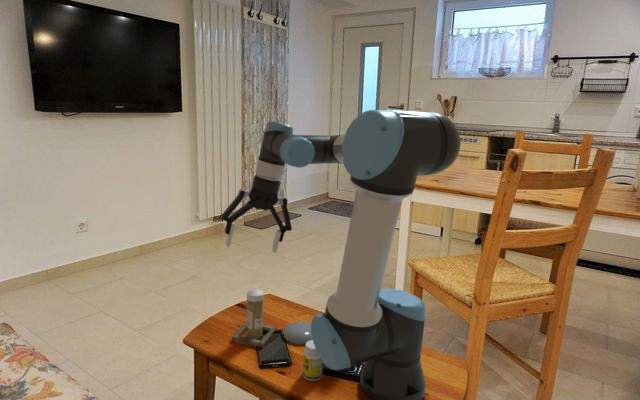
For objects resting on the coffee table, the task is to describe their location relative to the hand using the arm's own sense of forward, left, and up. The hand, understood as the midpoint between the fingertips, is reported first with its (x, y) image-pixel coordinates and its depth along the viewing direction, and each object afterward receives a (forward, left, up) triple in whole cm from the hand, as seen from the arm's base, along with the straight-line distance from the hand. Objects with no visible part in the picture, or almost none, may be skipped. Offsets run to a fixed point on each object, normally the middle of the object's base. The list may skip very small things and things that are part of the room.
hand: (251, 248), depth 120 cm
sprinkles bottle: (-4, +6, -24) cm, 25 cm away
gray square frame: (-4, +6, -24) cm, 25 cm away
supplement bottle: (-25, +17, -24) cm, 39 cm away
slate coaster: (-16, 0, -24) cm, 29 cm away
